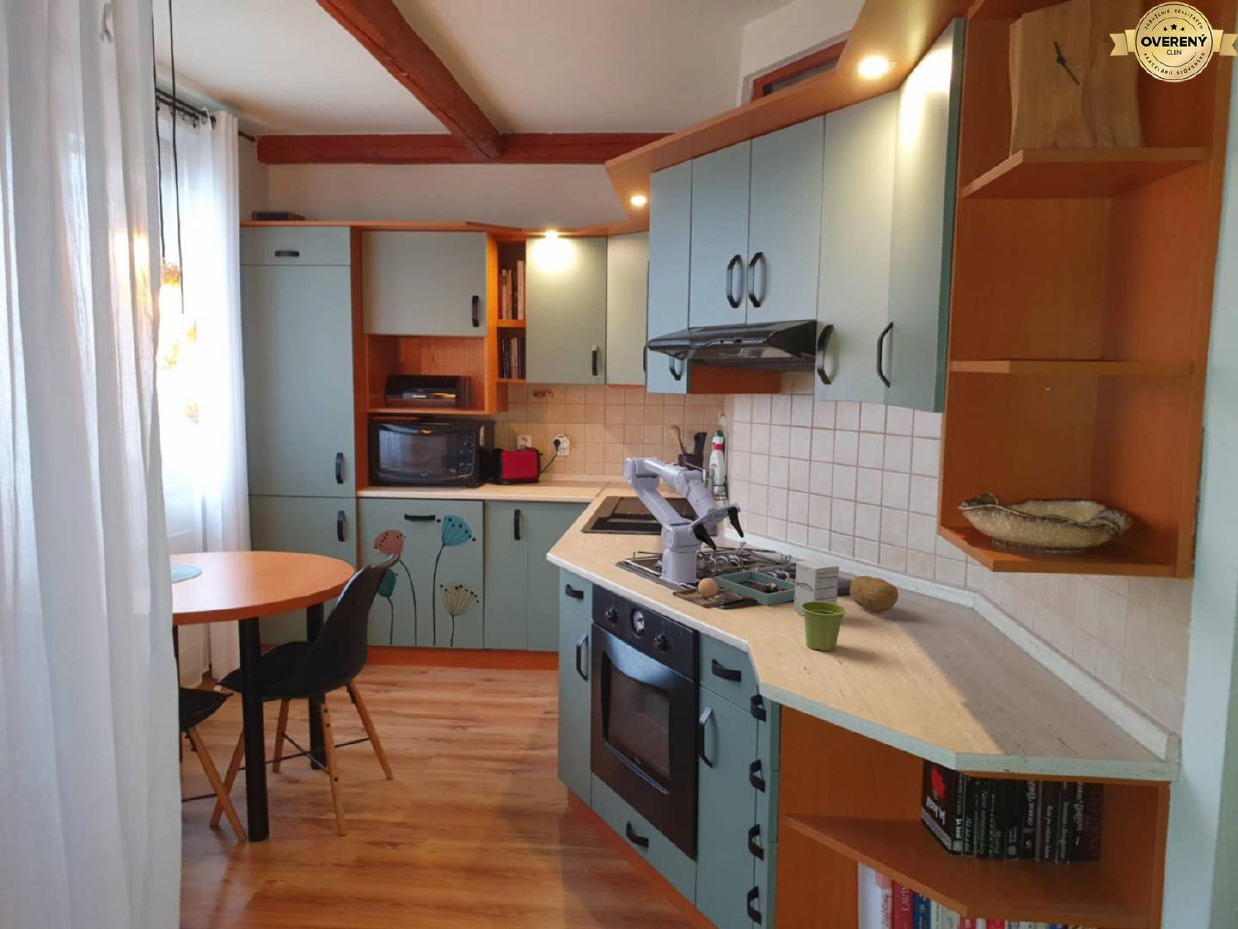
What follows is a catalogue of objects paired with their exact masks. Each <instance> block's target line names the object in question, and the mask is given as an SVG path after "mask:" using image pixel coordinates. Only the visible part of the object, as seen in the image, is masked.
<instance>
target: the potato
mask: <svg viewBox="0 0 1238 929" xmlns="http://www.w3.org/2000/svg"><path fill="white" fill-rule="evenodd" d="M849 594H850V596H851V598H852V600H853V602H854V603H855V604H856V605H857V606H859V607H861V608H864V609H866V610H868V611H870V612H873V613H874V612H875V613H883V612H886V611H889V610H891V609H893V607H894V606H895V604H896V603H897V602H898V599H899V592H898V589H897V588H896V586H895V585H894V584H892V583H891V582H888V581H887V580H885V579H882V578H879V577H873V576H869V575H860V576H855V577H854V578H853V579H852V580H851V582H850V585H849Z"/></svg>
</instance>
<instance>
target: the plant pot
mask: <svg viewBox="0 0 1238 929" xmlns="http://www.w3.org/2000/svg"><path fill="white" fill-rule="evenodd" d="M801 609H802V610H803V615H802V616H803V617H804V618H803V619H804V629H805V630H804V631H805V643H806V646H807V647H808V648H810V649H811V650H819V651H821V652H829V651H833V650H834V649H836V647H837V644H838V643H837V642H838V637H839V634H840V629H841V624H842V620H843V618H844V615H845V614H846V613H847V608H846V607H845V606H842V605H841V604H834V603H829V602H822V601H809V602H805V603H803V604H801Z"/></svg>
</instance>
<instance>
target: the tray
mask: <svg viewBox="0 0 1238 929" xmlns="http://www.w3.org/2000/svg"><path fill="white" fill-rule="evenodd" d="M712 579H713V580H714V581H715V582H716V583H717V585H719V586H720V587H723V588H724V589H730V590H733V591H735V592H737V593H740V594H742V595H747V596H750V597H753V598H754V599H756V600H757V601H758V603H757V604H760V605H763V606H767V607H769V606H773V605H778V604H782V603H788V602H792V601H794V598H795V582H794V583H793V582H790V581H788V580H785V579H781V578H779V577H776V576H772V575H769V574H765V573H762V572H759V571H756V570H753V569H749V570H748V569H747V570H743V571H738V572H732V573H727V574H722V575H721V574H720V575H717V576H713V577H712ZM748 580H753V581H756V582H760V583H767V584H769V583H774V584H776V585H779V586H780V587H782V588H783V589H787V590H784V591H776V592H771V593H766V592H763V591H760V590H758V589H754V588H752V587H748V586H745V585H743V584H740V583H738V582H741V583H744V582H743V581H746V582H749V581H748Z"/></svg>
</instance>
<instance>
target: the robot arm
mask: <svg viewBox="0 0 1238 929" xmlns="http://www.w3.org/2000/svg"><path fill="white" fill-rule="evenodd" d="M622 466H623V467H622V469H623V478H624V479H625V481H626V482H627V483H628V484H629V485H630V486H631V488H632V489H633V490H634V492H635V493H636V495H637V497H638V499H639V500H640V501H641V502H642V504H644V506H645V507H646V508H647V510H649V512H650V513H651V514H652V515H653V517H655V519H656V520H657V521H658V523H660V525H661V526H662V528H661V534H660V535H661V537H662V539H663V540H664V541H663V542H664V544H665V545H666V549H664V550H663V553H662V558H661V561H662V563H661V576H659V579H660V580H665V581H666V582H670V583H672V584H675V585H677V586H680V587H681V584H680V583H693V584H697V583H696V582H699V583H700V581H701V580H702V579H700V578H697V554H698V551H699V550H700V547H701V546H702V545H703V543H704V544H705V545H706V546H708V547H710V549H711V550H713V551H714V552H715V551H717V545H716V543H715V541H714V540H713V539H712V538H711V536H710V535H709V533H708V530H707V529H708V528H712V527H714V526H716V525H717V524H719V523H721V522H722V521H723V520H725V519H726V518H727V517H728V519H729V523H730V525H731V526H732V527H733V528H734V529H735V531H736V532H737V534H738V536H739V537H740V538H741V539H743V538H745V535H744V534H745V533H744V531H743V529H742V527H741V524H740V519H739V513H741V511H742V510H741V507H740V505H739V504H738V503H737V502H734V503H732V504H727V505H723V506H719V504H717V502H716V501H715V499H714V498H713V497H712V495H711V493H710V492H709V491H708V488H707V487H706V486H705V485H704V484H705V481H704V480H705V479H704V476H703V474H702V472H701V471H700V470H698V469H694V470H689V469H688V467H685V466H680V465H679V463H678V462H671V463H668V464H666V463H665V462H663V461H662V460H660V458H659V457H656V456H650V457H648V456H647V457H632V458H631V457H627V458H625V460H624V462H623V464H622ZM660 478H661V479H662V481H663V482H664V483H666V484H668V485H670V486H672V487H674V488H675V492H676V493H677V494H681V495H682V497H683V498H686V499H687V501H688V503H689V504H690V505H691V507H692V508H693V511H694V512H695V513H696V515H697V516H698V518H696V519H695V520H694V521H693V520H692V519H688V518H685V517H681V515H680V514H679V513H678V512H677V511H676V510H675V509H674V508H673V506H672V505H671V504H670V503H669V501H667V500H666V499H665V497H664V496H663V495H662V494H661V493H660V492H659V491H658V489H657V488H658V487H659V486H660Z"/></svg>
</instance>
